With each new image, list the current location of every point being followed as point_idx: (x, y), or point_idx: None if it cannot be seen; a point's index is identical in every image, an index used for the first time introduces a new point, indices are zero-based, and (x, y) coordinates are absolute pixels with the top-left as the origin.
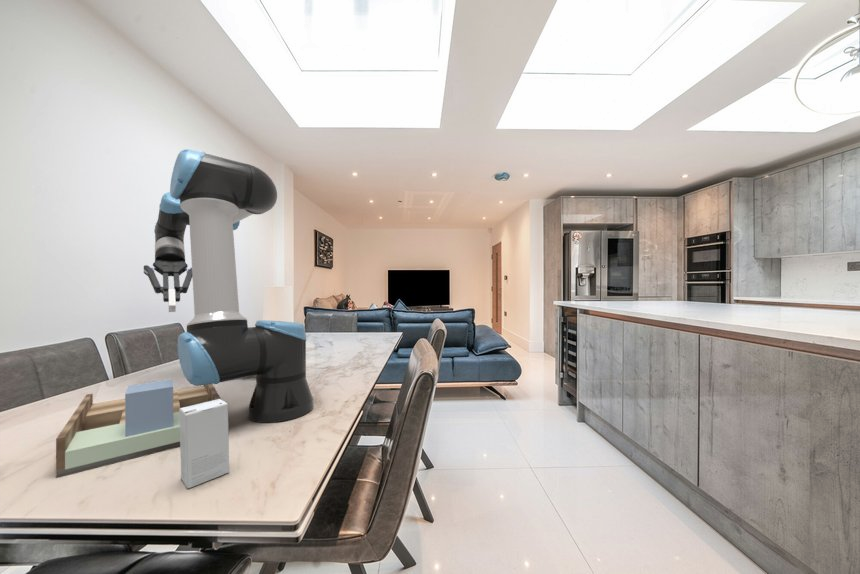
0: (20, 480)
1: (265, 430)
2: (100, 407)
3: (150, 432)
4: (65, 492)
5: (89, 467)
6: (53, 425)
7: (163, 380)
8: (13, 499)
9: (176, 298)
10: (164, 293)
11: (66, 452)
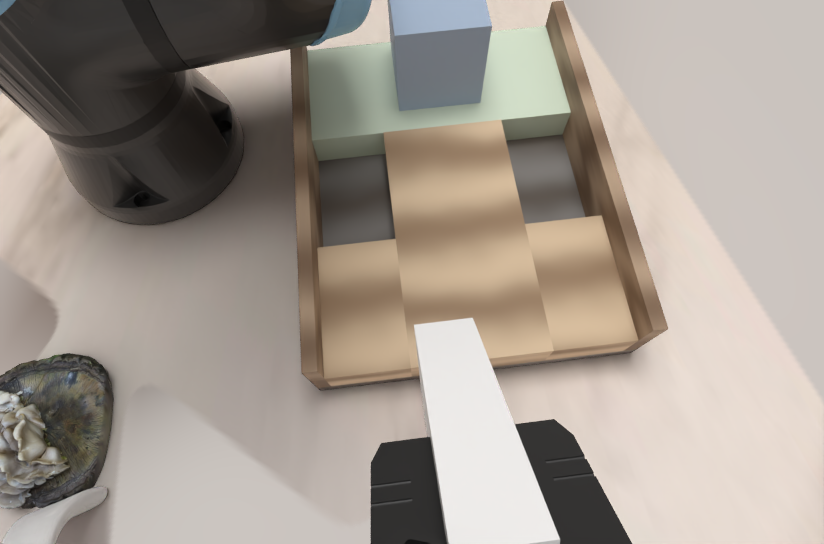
0: (597, 75)
1: (231, 66)
2: (596, 281)
3: None
4: (513, 10)
5: None
6: (711, 371)
7: (414, 33)
8: (572, 23)
9: (416, 443)
10: (591, 501)
11: (543, 27)
